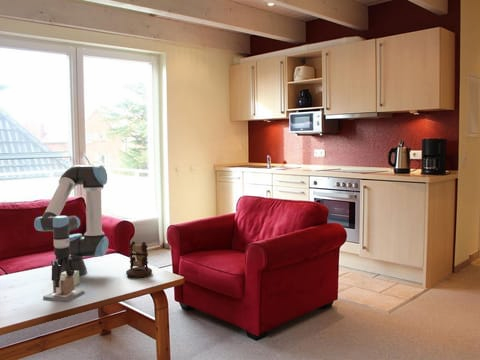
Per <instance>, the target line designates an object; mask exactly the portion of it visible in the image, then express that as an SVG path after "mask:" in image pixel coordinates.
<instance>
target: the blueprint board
mask: <svg viewBox="0 0 480 360" xmlns="http://www.w3.org/2000/svg"><path fill="white" fill-rule="evenodd" d="M83 294H85V289H84V290H83V289H76V288H74V290H73V291H71V292H69V293H67V294H58V293H53V291H52V292H50V293H47V294H45V295H44V296H43V297H42V298H43V300H45V301H46V300H48V301H56V302H64V303H67V302H69V301H72V300H73V299H76V298H78V297H80V296H81V295H83Z"/></svg>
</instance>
